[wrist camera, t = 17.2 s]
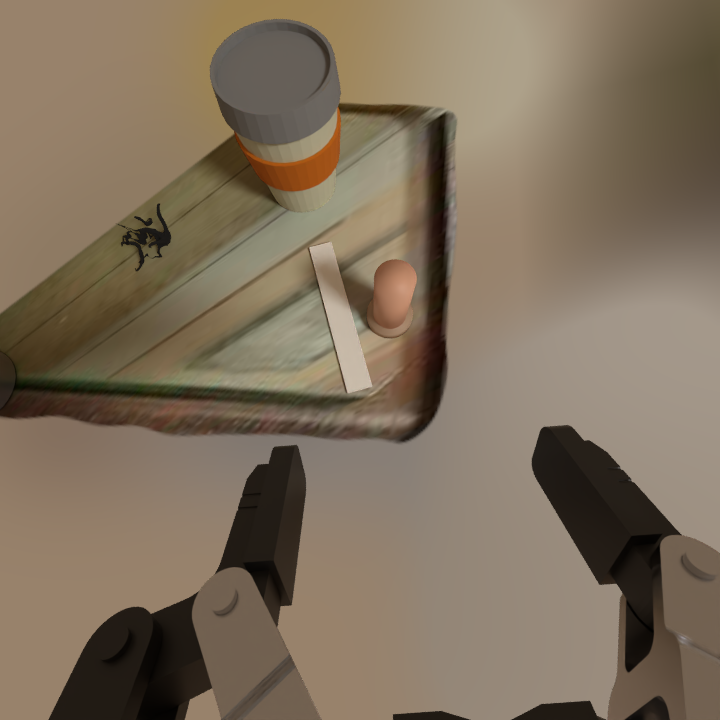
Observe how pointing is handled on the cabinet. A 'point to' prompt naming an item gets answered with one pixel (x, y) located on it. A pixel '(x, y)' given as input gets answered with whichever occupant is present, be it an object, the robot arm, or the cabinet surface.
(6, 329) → the cabinet surface
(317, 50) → the reusable coffee cup
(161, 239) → the creature
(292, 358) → the cabinet surface
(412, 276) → the pin
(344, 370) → the strip
